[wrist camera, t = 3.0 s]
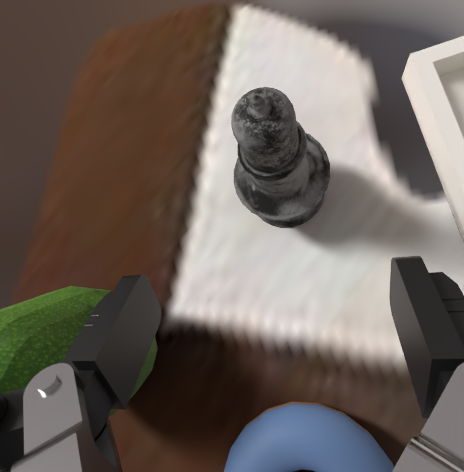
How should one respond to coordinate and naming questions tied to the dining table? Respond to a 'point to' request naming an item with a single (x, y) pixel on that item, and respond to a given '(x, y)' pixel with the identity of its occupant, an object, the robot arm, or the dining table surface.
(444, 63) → the ceramic dish
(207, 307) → the dining table surface
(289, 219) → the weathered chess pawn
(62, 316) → the avocado
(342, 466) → the doughnut
